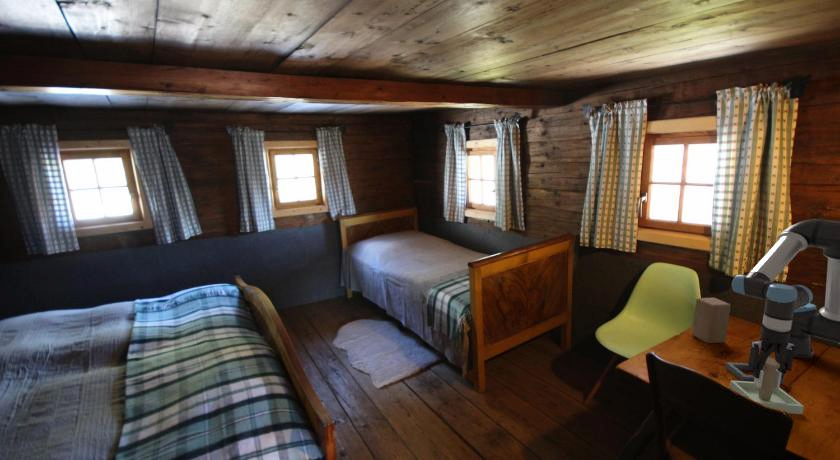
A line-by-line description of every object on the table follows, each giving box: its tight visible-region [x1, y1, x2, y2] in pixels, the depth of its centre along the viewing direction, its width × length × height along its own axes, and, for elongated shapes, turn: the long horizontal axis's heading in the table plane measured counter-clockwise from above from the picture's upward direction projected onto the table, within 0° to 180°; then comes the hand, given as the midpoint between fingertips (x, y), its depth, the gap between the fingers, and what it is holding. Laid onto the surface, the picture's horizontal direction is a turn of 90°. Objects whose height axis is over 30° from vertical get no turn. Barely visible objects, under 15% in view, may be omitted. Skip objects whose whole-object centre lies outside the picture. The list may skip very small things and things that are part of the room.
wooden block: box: [691, 297, 732, 344], centre depth 186 cm, size 10×10×20 cm
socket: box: [725, 355, 786, 385], centre depth 156 cm, size 15×11×7 cm
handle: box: [759, 357, 780, 401], centre depth 140 cm, size 5×6×15 cm
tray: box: [729, 380, 805, 415], centre depth 141 cm, size 15×14×3 cm
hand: (766, 386), depth 140 cm, fingers open, 5 cm apart
